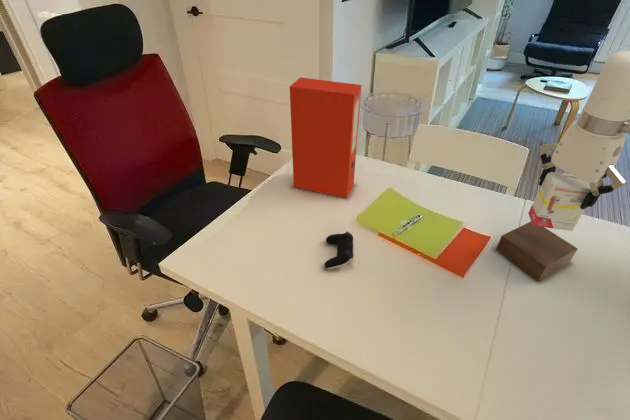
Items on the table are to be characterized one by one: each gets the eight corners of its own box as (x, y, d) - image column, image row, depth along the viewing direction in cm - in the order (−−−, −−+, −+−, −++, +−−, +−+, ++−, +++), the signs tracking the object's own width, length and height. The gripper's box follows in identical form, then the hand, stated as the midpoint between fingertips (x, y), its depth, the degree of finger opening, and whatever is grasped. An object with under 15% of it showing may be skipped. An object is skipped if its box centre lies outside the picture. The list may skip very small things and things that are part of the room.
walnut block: (526, 234, 100) (533, 220, 96) (569, 263, 91) (578, 248, 88) (495, 249, 95) (501, 235, 92) (537, 281, 87) (545, 267, 84)
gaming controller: (334, 277, 91) (356, 264, 88) (322, 267, 89) (344, 254, 86) (335, 246, 99) (356, 233, 96) (324, 236, 97) (344, 223, 94)
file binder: (303, 174, 122) (300, 76, 102) (353, 184, 118) (361, 84, 98) (293, 187, 117) (289, 86, 96) (346, 198, 112) (353, 95, 92)
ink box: (531, 226, 85) (552, 183, 78) (527, 213, 89) (546, 171, 81) (573, 232, 83) (597, 189, 76) (567, 218, 87) (590, 176, 80)
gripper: (663, 136, 66) (614, 211, 77) (570, 102, 78) (539, 171, 89) (640, 146, 63) (592, 223, 74) (547, 109, 75) (518, 180, 86)
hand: (563, 194), depth 81 cm, fingers closed on ink box, 9 cm apart
